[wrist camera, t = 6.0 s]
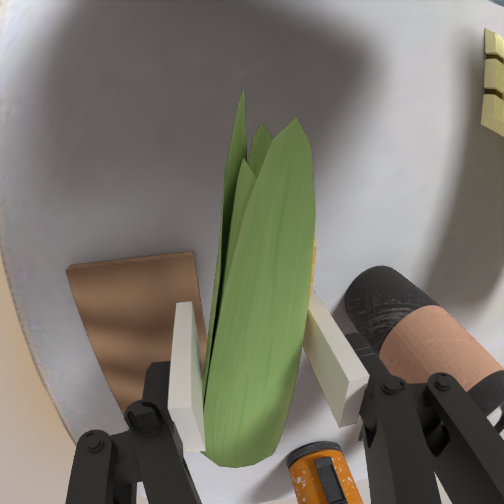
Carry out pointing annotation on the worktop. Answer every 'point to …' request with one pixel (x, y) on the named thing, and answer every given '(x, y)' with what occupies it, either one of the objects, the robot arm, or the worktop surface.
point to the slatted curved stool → (494, 83)
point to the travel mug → (423, 338)
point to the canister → (322, 475)
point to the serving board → (135, 314)
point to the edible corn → (259, 293)
